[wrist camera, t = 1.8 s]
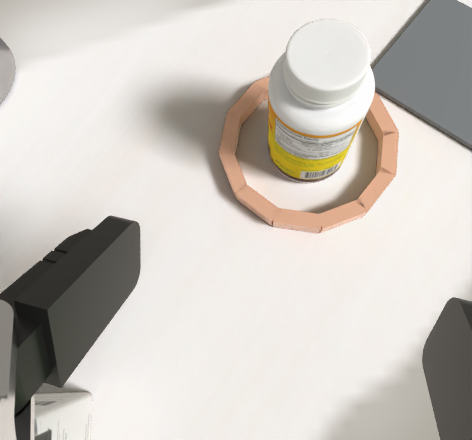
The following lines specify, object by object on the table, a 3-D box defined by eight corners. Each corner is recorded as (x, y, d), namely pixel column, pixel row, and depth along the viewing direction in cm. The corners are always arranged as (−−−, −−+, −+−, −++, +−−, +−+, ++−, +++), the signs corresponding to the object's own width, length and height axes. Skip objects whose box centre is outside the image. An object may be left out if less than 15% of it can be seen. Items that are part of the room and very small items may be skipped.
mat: (362, 82, 28) (363, 79, 28) (435, -6, 30) (437, -10, 30) (484, 157, 26) (487, 154, 26) (556, 58, 28) (560, 54, 27)
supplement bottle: (296, 102, 28) (313, -15, 19) (360, 142, 27) (414, 38, 17) (251, 158, 27) (244, 65, 18) (315, 201, 26) (345, 127, 16)
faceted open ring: (189, 163, 28) (186, 156, 27) (290, 51, 30) (291, 40, 28) (324, 266, 25) (327, 263, 24) (425, 136, 27) (432, 127, 26)
